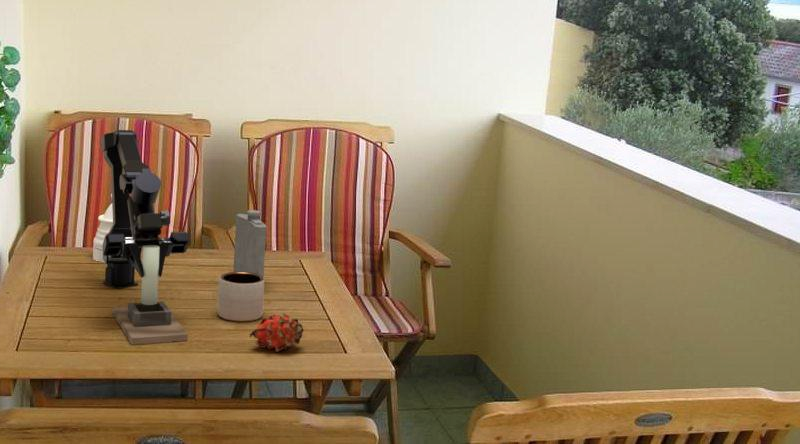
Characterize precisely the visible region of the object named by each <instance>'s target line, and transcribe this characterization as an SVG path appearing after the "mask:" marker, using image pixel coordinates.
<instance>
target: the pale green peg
mask: <svg viewBox="0 0 800 444" xmlns="http://www.w3.org/2000/svg"><path fill="white" fill-rule="evenodd" d="M159 248H160V247H159V246H157V245H144V246H143V247H142V259H141V262H142V266H143V271H144V277H141V296H140V297H141V298H140V303H142V304H144V305H155V304H157V303H158V302H159V278H160V277H159Z"/></svg>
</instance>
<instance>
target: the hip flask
mask: <svg viewBox="0 0 800 444" xmlns="http://www.w3.org/2000/svg"><path fill="white" fill-rule="evenodd" d="M261 214H262V211H260V210H255V209H253V210H252V209H250V210H249V209H248V210H247V211H246V214H245V213H238V214H236V215H235V231H234V232H235V234H234V237H235V238H234V251H233V252H234V253H233V254H234V255H233V271H232V272H251V273H256V274H259V275H261V276H263V277H264V275H265V274H264V273H265V256H266V242H267V241H266V240H267V227H268V226H267V225H266V224H265V223H264V222H263V221H261V220H260V219H261V218H260V217H261ZM264 278H265V277H264Z"/></svg>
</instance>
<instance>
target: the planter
mask: <svg viewBox="0 0 800 444" xmlns="http://www.w3.org/2000/svg"><path fill="white" fill-rule="evenodd" d="M218 278H219V279H218V280H219V281H218V294H217V297H218V298H217V311H216V312H217V315H218V316H219V317H220V318H221V319H223V320H225V321H226V320H227V321H230V322H234V323H235V322H236V323H237V322H238V323H247V322H248V323H250V322H254V321H257V320H259V319H261V317H263V314H264V301H265V300H264V298H265V296H264V295H265V279H266V278H265V277H263V276H261V275H259V274H256V273H251V272H233V271H230V272H224V273H222V274H220V275H219V277H218Z"/></svg>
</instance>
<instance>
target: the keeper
mask: <svg viewBox="0 0 800 444" xmlns="http://www.w3.org/2000/svg"><path fill="white" fill-rule="evenodd" d="M112 315H113V316H114V318H115V320H116V322H117V323H118V324H119V327H120V328H121V330H122V331H123V334H124V335H125V336H126V338H127V340H128V341H129V343H130V344H131V345H132V346H137V345H148V344H151V345H152V344H161V343H173V342H172V341H177V342H185V341H186V340H187V341H188V332H187V331H186V330H185V329H184V328H183V326H182V325H181V323H179V321H178V319H176V317H175V316H174V315H173V313H172V311H171V309H170V308H169V307H168V305H167V304H166V303H165V301H158V303H157V304H155V305H144V304H142V303H141V302H131V303H130V302H129V303H127V306H112ZM182 340H183V341H182ZM184 340H185V341H184ZM187 341H186V342H187Z"/></svg>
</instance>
